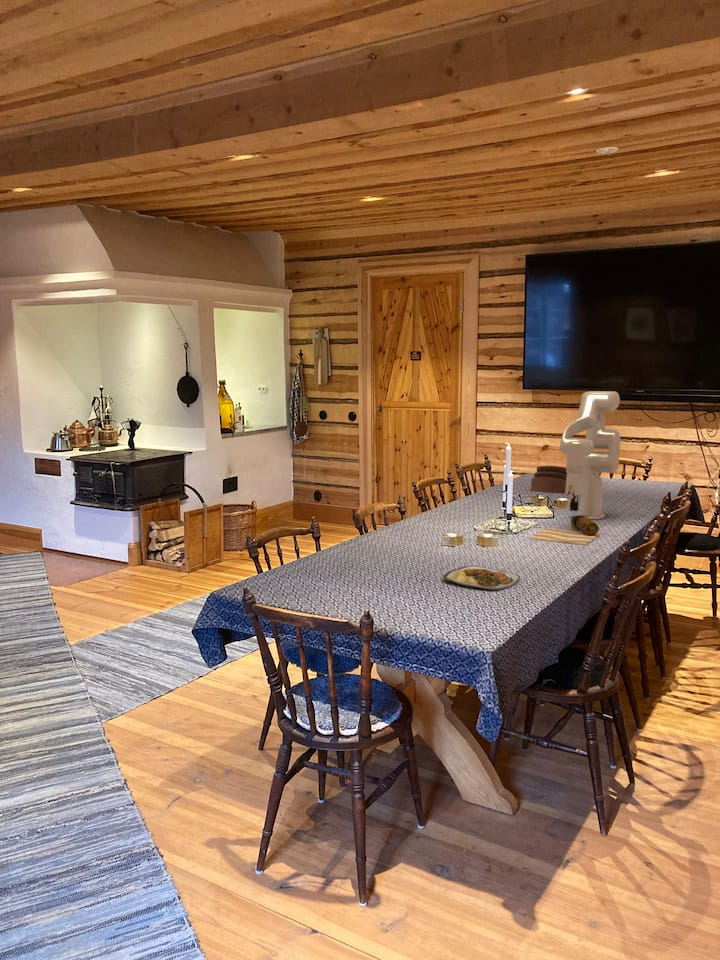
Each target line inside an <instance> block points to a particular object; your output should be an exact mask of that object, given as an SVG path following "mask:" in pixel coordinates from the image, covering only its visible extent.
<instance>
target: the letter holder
mask: <svg viewBox="0 0 720 960" xmlns="http://www.w3.org/2000/svg"><path fill="white" fill-rule="evenodd" d="M566 478H567V473H566V466H558V465H540V466H539V465H538V466H536V471H535V472H534V474H533V477H531V480H530V481H531V483H530V484H531V485H530V491H531V492H540V493H552V494H565V491H566ZM565 495H566V494H565Z"/></svg>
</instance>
